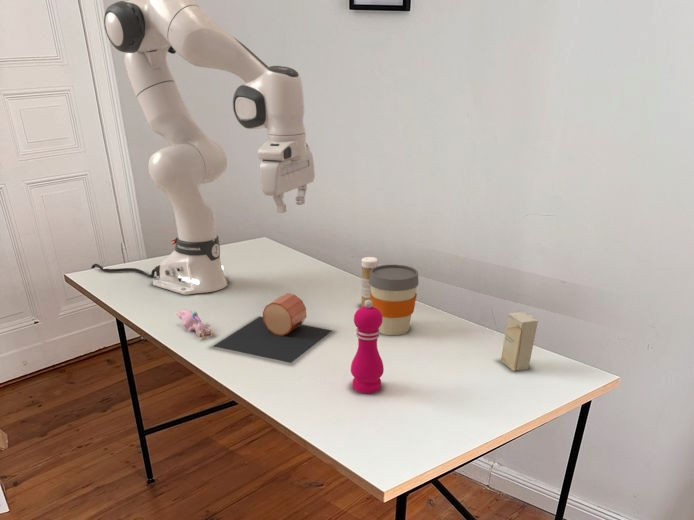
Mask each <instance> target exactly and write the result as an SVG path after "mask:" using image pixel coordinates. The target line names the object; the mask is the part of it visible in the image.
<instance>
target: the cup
mask: <svg viewBox="0 0 694 520" xmlns="http://www.w3.org/2000/svg"><path fill="white" fill-rule="evenodd" d="M262 317H263V321H264V323H265V325H266V327H267V329H268V330H269V331H271V332H272V333H273V334H275V335H280V336H284V335H286V334H288V333H290V332H291V331H292V330H294V329H295V328H297V327H298V326H300V325H303V324H304V322H305V320H306V318H307V307H306V305H305V303H304V301H303V300H302V299H301V298H300V297H299V296H298V295H296V294H294V293H285V294H283V295H281V296H279V297H277V298H276V299H274V300H273V301H271V302H269V303H268V304H266V305H265V306H264V308H263V311H262Z"/></svg>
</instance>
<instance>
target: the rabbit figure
mask: <svg viewBox="0 0 694 520" xmlns="http://www.w3.org/2000/svg"><path fill="white" fill-rule="evenodd" d="M175 314H176V316H177V317H178V318H179V320H181V321H182V327H184V328H185V329H187V332H190V331H195V333H196V336H197V337H199V338H201V339H202V340H203V339H206V337H205V336H209V335H210V337H215V336H214V333H213V330H212V329H211V328H209V326H211V324H210V323H203V322H202V319H201V318H200V316H199V314H198V313H197V311H192V310H190V309H183V310H181V311H176V312H175Z"/></svg>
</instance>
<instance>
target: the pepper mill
mask: <svg viewBox="0 0 694 520" xmlns="http://www.w3.org/2000/svg"><path fill="white" fill-rule="evenodd" d="M364 305H365V306H363V307H362V306H361V307H359V308H358V309H357V310H356V311H355V313H354V315H353V323H354V325H355V327H356V330H355V332H356V333H355V336H356V338H357V339H358V344H357V350H356V353H355V355H354V357H353V359H352V361H351V365H350V374H351V375H352V377H353V378H352V389H353V390H354V391H355V392H356V393H359V394H374V393H377V392H379V391H380V390H381V388H382V379H381V377H382V376H383V375H384V372H385V371H384V362H383V359H382V357H381V355H380V352H379V350H378V339H379V338H380V334H381V333H379V332H380V330H379V327H380V326H381V324H382V314H381V312H380V311H379V310H378V309H377V308H375V307H373V302H372V301H371V300H366V301H365V303H364Z"/></svg>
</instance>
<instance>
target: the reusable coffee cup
mask: <svg viewBox="0 0 694 520" xmlns="http://www.w3.org/2000/svg"><path fill="white" fill-rule="evenodd" d="M369 284H370V285H371V292H370V300H371V301H372V302H373V307H375V308H377V309H378V310H379V311H380V312H381V314H382V324H381V326H380V327H379V330H380V332H379V334H382V335H386V336H400V335H404V334H406V333H407V332H409V330H410V325H411V321H412V319H411V318H412V315H413V313H414V312H415V308H416V307H415V306H416V303H417V296H418V294H417V288H418V286H419V271H418V270H417V269H416V268H414V267H412V266H409V265H403V264H382V265H378V266H377V267H374V268H373V269H371V271H370V278H369Z"/></svg>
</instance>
